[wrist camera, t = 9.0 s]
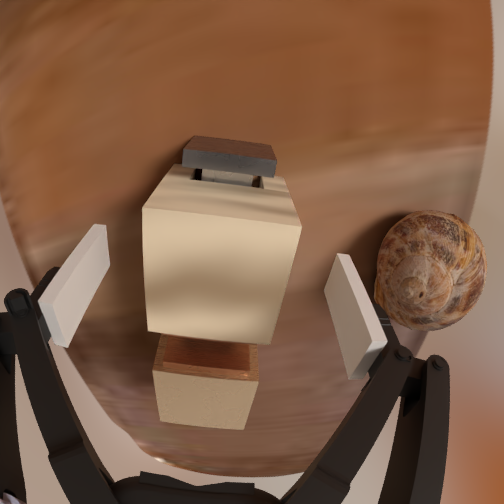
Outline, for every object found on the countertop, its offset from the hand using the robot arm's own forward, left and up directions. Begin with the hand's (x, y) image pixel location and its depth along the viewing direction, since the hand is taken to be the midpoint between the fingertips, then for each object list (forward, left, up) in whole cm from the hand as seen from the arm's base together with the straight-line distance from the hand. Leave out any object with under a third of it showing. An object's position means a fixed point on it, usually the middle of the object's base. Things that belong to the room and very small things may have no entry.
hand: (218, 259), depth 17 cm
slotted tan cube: (+1, 0, -6) cm, 6 cm away
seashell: (+2, +16, -6) cm, 17 cm away
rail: (+7, 0, -6) cm, 9 cm away
